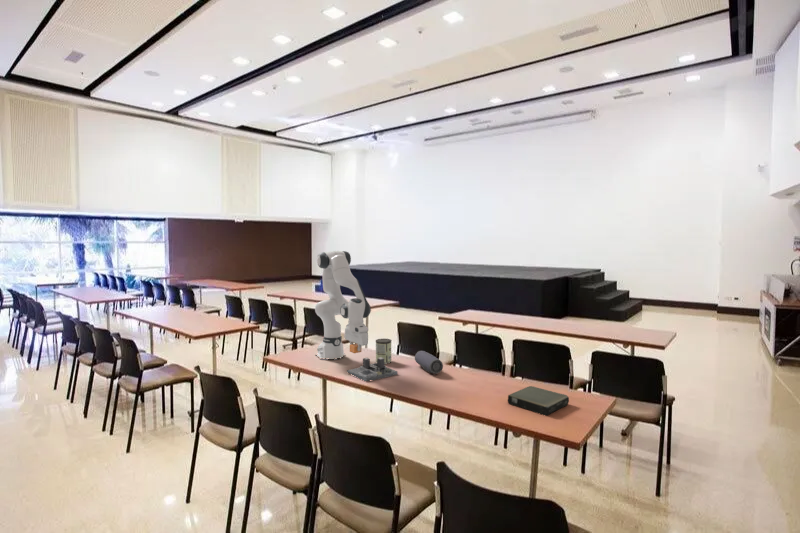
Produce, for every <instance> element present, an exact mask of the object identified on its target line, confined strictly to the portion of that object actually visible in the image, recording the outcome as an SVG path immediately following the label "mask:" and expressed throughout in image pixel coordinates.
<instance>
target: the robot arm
mask: <svg viewBox="0 0 800 533" xmlns="http://www.w3.org/2000/svg"><path fill="white" fill-rule="evenodd" d="M351 261H352V257H351V253H349V251H346V250H345V251H344V250H343V251H339V250H333V251H325V252H324V251H323V252H320V253H318V254H317V258H316V262H317V265H318V267H319V268H320V269H322V290H323V292H324V293H325V294H327V296H328V298H329V299H324V300H321V301H318V302H316V304H315V306H314V307H315V308H314V312H315V314H316V315H317V317H319V318H320V319H321V321H322V323H323V333H324V334H323V336H322V342H321V343H320V344H318V346H317V350H316V351H317V352H318V353H317V354H318V355H317V356H319V357H320V358H329V359H334V358H340V357H343V355H344V354H345V355H346V353H345V352H344V344H343V343H342V339H343V337H342V326H341V325H342V324H341V323H340V322H339V321H338V320H337V319H336V316H339V315H340V316H341V318H343V319H348V323H347V325H346V326H345V329H344V340H347V341H348V342H349V346H350V345H351V344H358V348H357V351H361V352H362V350H361V346H362V347H363V346H367V345H368V344H369V333H368V332H369V327H368V326H366V324H365V323H364V322H365V321H364V319H366V318H368V317H369V316H370V314H371V313H372V308H371V305H370V303H369V302H368V300H367V297H366V295H365V293H364V291H363V288H362V286H361V284H360V281H359V279H357V278H356V277H355V276H354V275H353V273H352V272H351V268H350V265H351ZM341 287H345V288H348V289H349V290H351V291H352V292H353V293H354V295H355V297H356V298H355V297H354V298H351V299H349V301H348V300H347V299H346V298H345V297H344V295H343V294H342V291H341ZM345 355H344V356H345ZM317 356H316V357H317ZM343 358H344V357H343ZM340 359H341V358H340ZM334 360H335V359H334Z"/></svg>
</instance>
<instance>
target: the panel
mask: <svg viewBox="0 0 800 533" xmlns="http://www.w3.org/2000/svg"><path fill="white" fill-rule="evenodd" d="M347 372H348V373H350V374H352V375H354V376H356V377H358V378H360V379H359V380H361V379H362V380H361V381H363V380H364V381H363V382H365V381H369V382H371V381H370V380H373V381H377V380H381V379H385V378H388V377H393V376H397V375H398V370H395V369H392V368H389V367H387V365H386V364H384V368H381V369H380V367H377V363H376V362H374V363H370V368H368V369H367V368H365V367H363V365H360V366H359V367H355V368H352V369H347V370H346V373H347ZM354 376H353V377H354ZM356 377H355V378H356ZM358 378H357V379H358ZM380 378H381V379H380ZM376 379H377V380H376Z"/></svg>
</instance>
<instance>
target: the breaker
mask: <svg viewBox="0 0 800 533" xmlns="http://www.w3.org/2000/svg"><path fill="white" fill-rule="evenodd" d="M384 365H385V364H384V358H382V357H380V358H378V359H377V367H380V369H381V368H384Z"/></svg>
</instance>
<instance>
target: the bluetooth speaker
mask: <svg viewBox="0 0 800 533" xmlns="http://www.w3.org/2000/svg"><path fill="white" fill-rule="evenodd" d="M414 360H415V362H416V363H417V364H418V365H419V366H420V367H422V368H423V370H424V371H426V372H428V373H430V374H434V375H435V374H439V373H441V372H442V371H443V367H444V364H443V361H441V360H440V359H439V358H437V357H436V356H435V355H433V354H431V353H429V352H426V351H425V350H418V351H417V352H416V353H415V355H414Z"/></svg>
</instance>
